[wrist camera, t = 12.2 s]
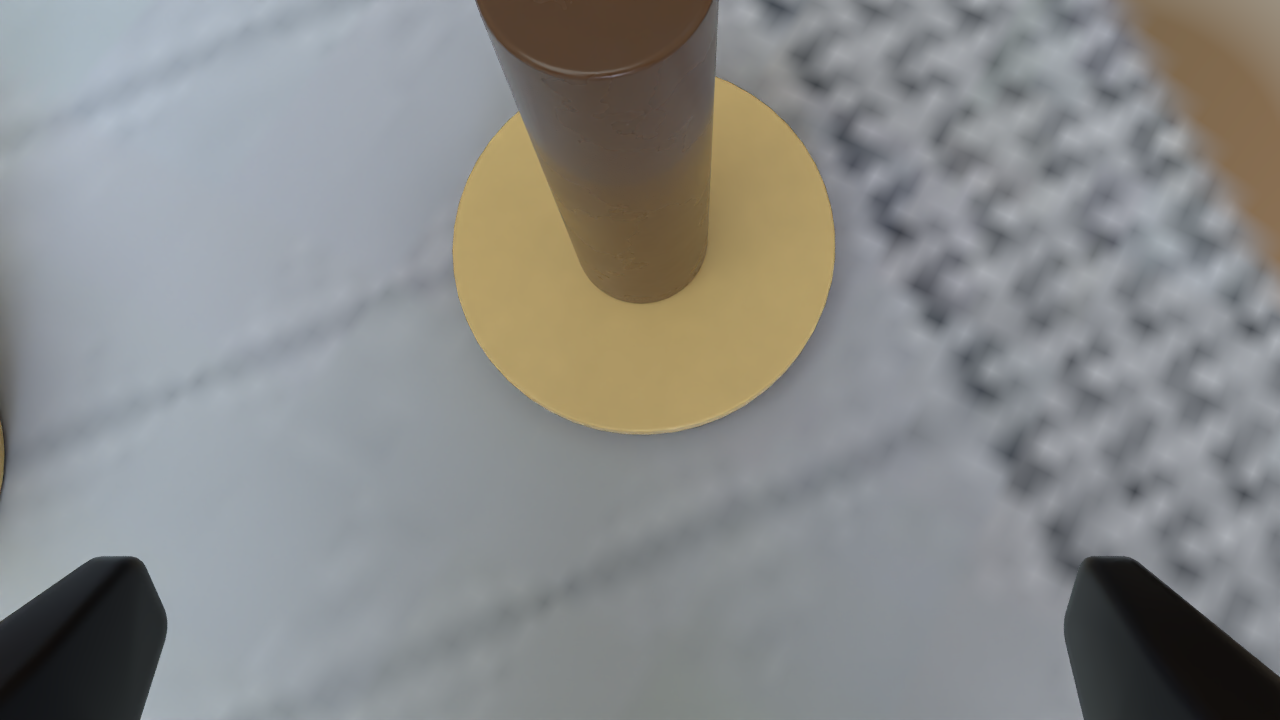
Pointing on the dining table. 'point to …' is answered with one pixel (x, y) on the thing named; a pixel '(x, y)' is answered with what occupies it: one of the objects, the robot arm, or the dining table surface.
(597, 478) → the dining table surface
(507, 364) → the peg on round base
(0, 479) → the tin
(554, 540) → the dining table surface
